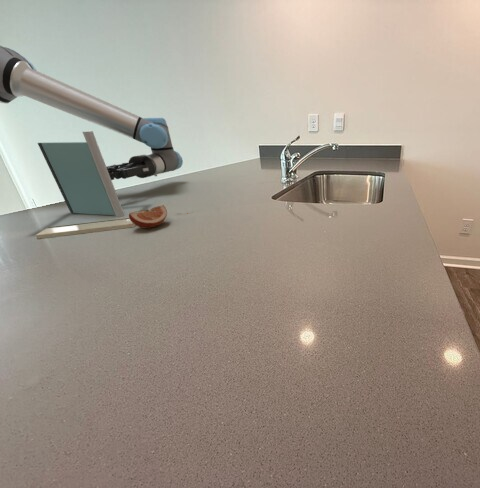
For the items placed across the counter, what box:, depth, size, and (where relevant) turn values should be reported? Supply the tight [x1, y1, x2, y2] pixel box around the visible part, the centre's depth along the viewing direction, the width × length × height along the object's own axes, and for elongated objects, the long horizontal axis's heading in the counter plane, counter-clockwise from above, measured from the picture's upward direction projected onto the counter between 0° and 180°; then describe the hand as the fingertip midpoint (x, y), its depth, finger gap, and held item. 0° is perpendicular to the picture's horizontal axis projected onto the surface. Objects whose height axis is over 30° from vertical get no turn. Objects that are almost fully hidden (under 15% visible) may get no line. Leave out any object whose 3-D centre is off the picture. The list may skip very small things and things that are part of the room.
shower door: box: [37, 141, 116, 216], centre depth 73 cm, size 15×9×19 cm, turn 80°
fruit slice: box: [128, 204, 168, 229], centre depth 66 cm, size 8×7×5 cm
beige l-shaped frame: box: [35, 130, 136, 240], centre depth 66 cm, size 20×16×23 cm
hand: (81, 179), depth 73 cm, fingers open, 6 cm apart
